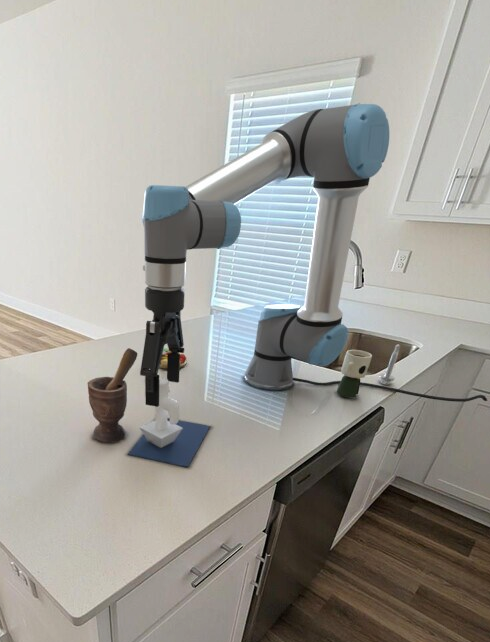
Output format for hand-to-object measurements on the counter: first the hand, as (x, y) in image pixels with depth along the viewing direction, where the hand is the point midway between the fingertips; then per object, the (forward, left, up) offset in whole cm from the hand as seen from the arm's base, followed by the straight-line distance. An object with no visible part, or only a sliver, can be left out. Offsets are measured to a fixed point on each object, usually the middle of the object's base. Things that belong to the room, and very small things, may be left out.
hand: (163, 392), depth 88 cm
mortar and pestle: (+12, 0, -13) cm, 18 cm away
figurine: (0, 0, -12) cm, 12 cm away
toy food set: (+16, -52, -13) cm, 56 cm away
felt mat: (-2, -2, -13) cm, 13 cm away
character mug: (-43, -48, -13) cm, 66 cm away
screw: (-56, -65, -13) cm, 86 cm away
